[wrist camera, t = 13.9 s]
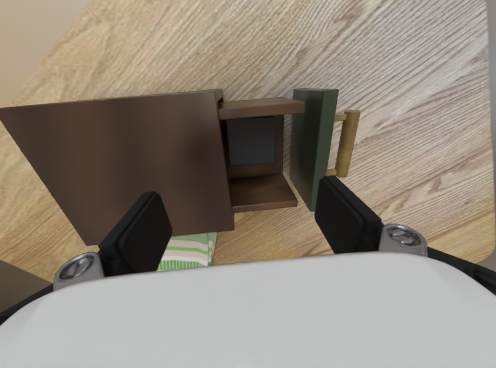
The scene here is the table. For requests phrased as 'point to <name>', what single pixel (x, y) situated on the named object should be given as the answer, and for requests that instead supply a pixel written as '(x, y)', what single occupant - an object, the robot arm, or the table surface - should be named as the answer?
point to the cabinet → (129, 158)
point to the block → (251, 140)
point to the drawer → (302, 149)
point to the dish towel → (188, 251)
